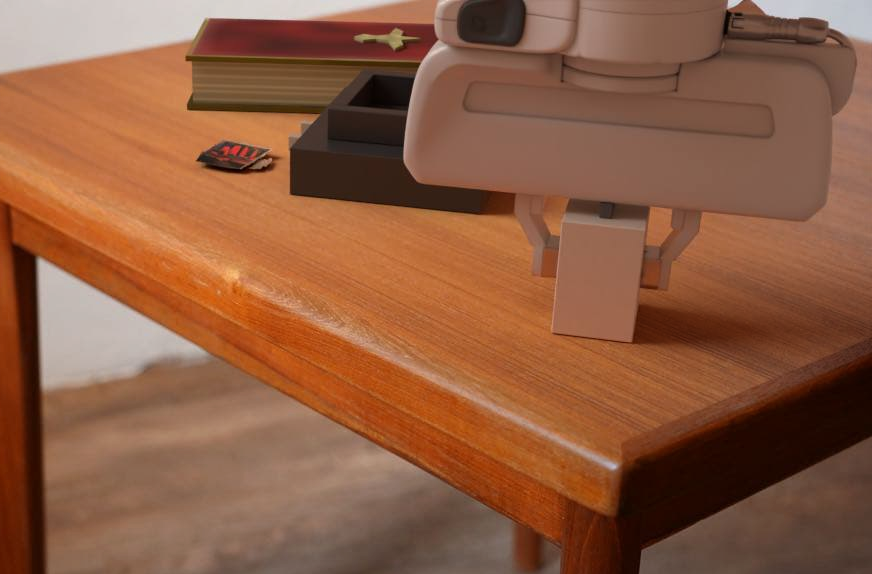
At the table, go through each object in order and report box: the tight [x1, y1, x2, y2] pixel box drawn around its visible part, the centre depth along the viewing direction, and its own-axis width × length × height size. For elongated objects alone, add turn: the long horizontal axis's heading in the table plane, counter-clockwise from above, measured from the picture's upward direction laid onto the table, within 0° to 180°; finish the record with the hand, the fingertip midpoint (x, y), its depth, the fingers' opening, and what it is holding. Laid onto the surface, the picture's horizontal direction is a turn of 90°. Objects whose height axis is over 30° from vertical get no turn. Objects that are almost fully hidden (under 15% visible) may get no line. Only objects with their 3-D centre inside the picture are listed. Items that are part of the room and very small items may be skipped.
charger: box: [550, 198, 652, 343], centre depth 72 cm, size 4×5×7 cm
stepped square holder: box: [287, 69, 493, 215], centre depth 93 cm, size 14×14×5 cm
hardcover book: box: [185, 17, 439, 114], centre depth 109 cm, size 12×21×4 cm, turn 87°
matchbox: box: [195, 139, 274, 170], centre depth 95 cm, size 5×5×1 cm
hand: (599, 279), depth 73 cm, fingers closed on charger, 4 cm apart
